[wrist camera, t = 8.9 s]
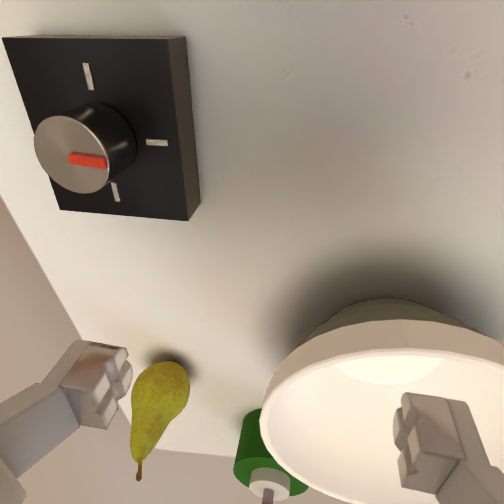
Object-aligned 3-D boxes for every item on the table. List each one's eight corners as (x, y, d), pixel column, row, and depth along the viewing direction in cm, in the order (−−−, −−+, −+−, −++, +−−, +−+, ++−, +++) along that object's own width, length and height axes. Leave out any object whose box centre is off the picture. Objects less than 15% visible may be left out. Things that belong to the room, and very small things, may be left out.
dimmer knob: (78, 167, 24) (41, 190, 21) (64, 98, 21) (19, 112, 18) (140, 176, 23) (111, 201, 20) (132, 106, 21) (98, 122, 18)
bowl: (287, 402, 39) (277, 497, 32) (260, 256, 29) (235, 345, 21) (485, 414, 35) (531, 530, 27) (536, 246, 24) (635, 354, 17)
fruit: (142, 368, 41) (83, 480, 31) (157, 340, 37) (96, 456, 28) (187, 389, 41) (143, 505, 32) (205, 363, 38) (163, 484, 28)
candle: (252, 400, 40) (232, 498, 32) (321, 422, 40) (319, 525, 32) (236, 435, 45) (216, 528, 37) (298, 454, 45) (292, 552, 37)
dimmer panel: (36, 34, 23) (-2, 37, 20) (185, 36, 21) (165, 39, 19) (82, 193, 29) (58, 211, 26) (200, 202, 27) (187, 222, 25)
